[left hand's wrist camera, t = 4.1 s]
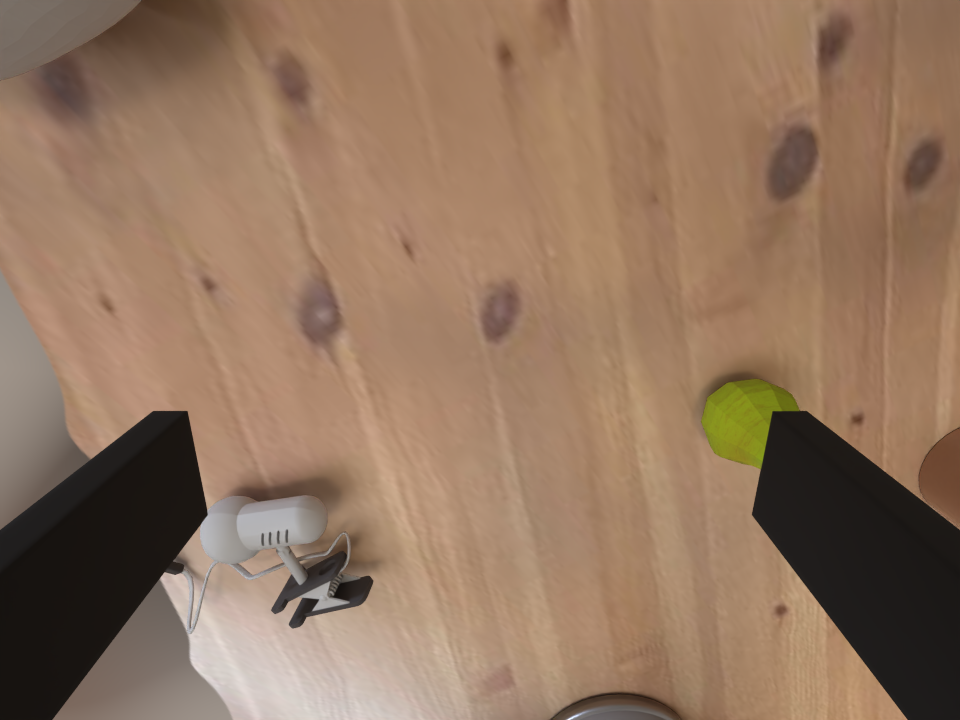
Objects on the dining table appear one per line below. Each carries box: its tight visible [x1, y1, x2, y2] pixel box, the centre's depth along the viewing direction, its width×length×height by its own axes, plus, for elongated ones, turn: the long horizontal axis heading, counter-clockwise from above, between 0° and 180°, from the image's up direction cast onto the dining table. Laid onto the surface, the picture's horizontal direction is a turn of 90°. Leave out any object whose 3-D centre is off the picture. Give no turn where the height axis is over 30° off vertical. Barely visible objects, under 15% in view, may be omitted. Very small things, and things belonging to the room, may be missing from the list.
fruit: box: [701, 379, 800, 469], centre depth 37 cm, size 6×6×12 cm
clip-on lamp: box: [165, 495, 373, 634], centre depth 45 cm, size 12×6×18 cm
